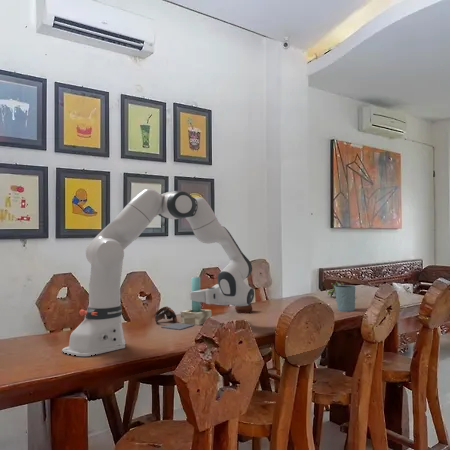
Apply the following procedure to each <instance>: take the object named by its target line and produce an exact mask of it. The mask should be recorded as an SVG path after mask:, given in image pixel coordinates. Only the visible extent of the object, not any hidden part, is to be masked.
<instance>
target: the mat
mask: <svg viewBox="0 0 450 450" xmlns="http://www.w3.org/2000/svg"><path fill="white" fill-rule="evenodd" d="M194 326H195V325H194V324H186V323H181V322H177V323H176V322H173V323H169V324H167V325H162V326H161V327H160V328H161V329H166V330H167V329H170V330H176V331H177V330H178V331H181V330H185V329H187V328H192V327H194Z"/></svg>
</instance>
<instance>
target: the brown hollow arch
mask: <svg viewBox="0 0 450 450" xmlns="http://www.w3.org/2000/svg"><path fill="white" fill-rule="evenodd" d="M153 315H154V317H155V318H154V321H155V323H156V324H157V323H158V322H159V321H160V320H162V319H163V320H166V319H167V320H171V319H172V322H174V323H179V322H178V321H179V320H178V318H177V315H176V312H175V311H174V310H173V309H172V308H171V307H169V306H163V307H161V308H160V309H158V310H157V311H156V312H155V314H153Z"/></svg>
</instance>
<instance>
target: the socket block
mask: <svg viewBox="0 0 450 450" xmlns="http://www.w3.org/2000/svg"><path fill="white" fill-rule="evenodd" d="M212 311H213V310H212V309H205V308H201V312H192V308H191V309H187V310H182V311H180V323H184V324H192V325H194V326H199V325H204V324H205V323H204V322H205V321H206V320H207V319H208V318H209V317H212V318H213V314H212V313H213V312H212Z"/></svg>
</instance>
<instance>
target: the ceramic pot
mask: <svg viewBox="0 0 450 450" xmlns="http://www.w3.org/2000/svg"><path fill="white" fill-rule="evenodd" d="M234 309H235V312H236V313H237V314H250V313H249V312H251V313H252V312H253V306H252V302H251V303H250V304H249V305H248V306H234Z"/></svg>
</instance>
